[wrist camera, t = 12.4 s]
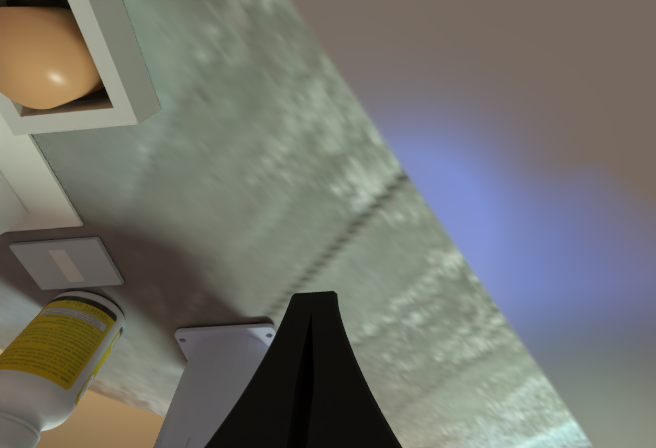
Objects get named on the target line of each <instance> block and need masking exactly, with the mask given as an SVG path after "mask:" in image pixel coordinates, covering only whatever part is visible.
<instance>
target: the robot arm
mask: <svg viewBox="0 0 656 448" xmlns="http://www.w3.org/2000/svg"><path fill="white" fill-rule="evenodd" d="M174 336H175V338H176V340H177V342H178V344H179V346H180V348H181V350H182V351H183V353H184V355H185V357H186V359H187V364H186V366H185V369H184V371H183V374H182V377H181V379H180V382H179V384H178V387H177V389H176V392H175V394H174V397H173V399H172V402H171V404H170V407H169V409H168V412H167V414H166V417H165V420H164V422H163V425H162V427H161V430H160V432H159V435H158V437H157V440H156V443H155V445H154V447H153V448H402V446H401V444H400V443H399V441H398V440H397V438H396V436H395V435H394V433H393V431H392V430H391V428H390V426H389V424H388V422H387V421H386V419H385V417H384V415H383V414H382V412H381V410H380V408H379V406H378V404H377V402H376V400H375V399H374V397H373V395H372V393H371V391H370V389H369V387H368V385H367V382H366V380H365V378H364V376H363V374H362V372H361V370H360V367H359V365H358V363H357V360H356V358H355V356H354V353H353V351H352V348H351V345H350V343H349V340H348V338H347V335H346V332H345V329H344V326H343V323H342V319H341V316H340V311H339V307H338V298H337V293H335V292H334V291H326V292H311V293H295V294H294V295H293V296H292V297H291V300H290V303H289V306H288V308H287V311H286V313H285V315H284V318H283V320H282V322H281V324H280V326H279V329H278V331H277V333H276V329H275V326H274V325H272V324H270V323H265V324H249V325H232V326H215V327H199V328H182V329H177V330H176V332H175V334H174Z"/></svg>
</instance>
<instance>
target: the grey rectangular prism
mask: <svg viewBox="0 0 656 448" xmlns="http://www.w3.org/2000/svg"><path fill="white" fill-rule="evenodd" d="M28 215H29V214H28V212H27V211H26V209H25V208H24V206H23V205H22V203H21V202H20V200H19V199H18V197H17V196H16V194H15V193H14V191H13V190H12V188H11V187H10V185H9V184H8V182H7V181H6V180H5V178H4V177H3V175H2V174H1V172H0V235H1V234H3V233H4V232H5V231H7V230H8V229H10V228H11V227H12V226H14V225H15V224H17V223H18V222H20V221H21V220H22V219H24V218H25V217H27V216H28Z"/></svg>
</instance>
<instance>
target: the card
mask: <svg viewBox="0 0 656 448" xmlns="http://www.w3.org/2000/svg"><path fill="white" fill-rule="evenodd" d="M8 246H9V248H10V249H11V250H12V252H13V253H14V254H15V256H16V257H17V258H18V260H19V261H20V262H21V263H22V265H23V266H24V267H25V269H26V270H27V271H28V273H29V274H30V275H31V277H32V278H33V279H34V280H35V282H36V283H37V284H38V286H39V287H40V288H41V290H51V289H66V288H81V287H95V286H110V285H122V284H123V283H124V280H123V278H122V277H121V275H120V273H119V271H118V270H117V268H116V266H115V264H114V263H113V261H112V259H111V257H110V256H109V254H108V252H107V250H106V249H105V247H104V245H103V243H102V242H101V240H100V238H99V237H86V238H72V239H59V240H46V241H33V242H19V243H11V244H10V245H8Z"/></svg>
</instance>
